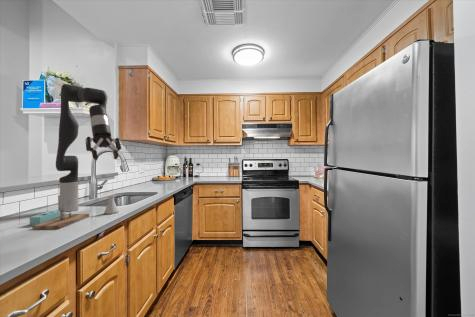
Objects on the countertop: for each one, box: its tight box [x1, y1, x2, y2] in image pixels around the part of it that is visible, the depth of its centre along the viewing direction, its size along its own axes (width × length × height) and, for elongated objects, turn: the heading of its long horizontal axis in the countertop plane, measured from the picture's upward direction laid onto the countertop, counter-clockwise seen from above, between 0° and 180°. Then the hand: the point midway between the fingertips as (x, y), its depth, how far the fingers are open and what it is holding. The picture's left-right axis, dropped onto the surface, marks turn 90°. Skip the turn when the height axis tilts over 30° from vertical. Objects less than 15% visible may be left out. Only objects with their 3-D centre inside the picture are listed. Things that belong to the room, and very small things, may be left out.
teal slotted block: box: [29, 210, 61, 227], centre depth 123 cm, size 5×13×4 cm, turn 0°
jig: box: [32, 211, 90, 230], centre depth 121 cm, size 12×22×5 cm, turn 0°
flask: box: [103, 194, 119, 215], centre depth 140 cm, size 7×7×10 cm
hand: (106, 159), depth 111 cm, fingers open, 8 cm apart
